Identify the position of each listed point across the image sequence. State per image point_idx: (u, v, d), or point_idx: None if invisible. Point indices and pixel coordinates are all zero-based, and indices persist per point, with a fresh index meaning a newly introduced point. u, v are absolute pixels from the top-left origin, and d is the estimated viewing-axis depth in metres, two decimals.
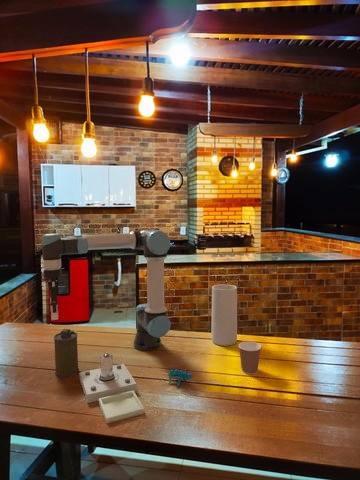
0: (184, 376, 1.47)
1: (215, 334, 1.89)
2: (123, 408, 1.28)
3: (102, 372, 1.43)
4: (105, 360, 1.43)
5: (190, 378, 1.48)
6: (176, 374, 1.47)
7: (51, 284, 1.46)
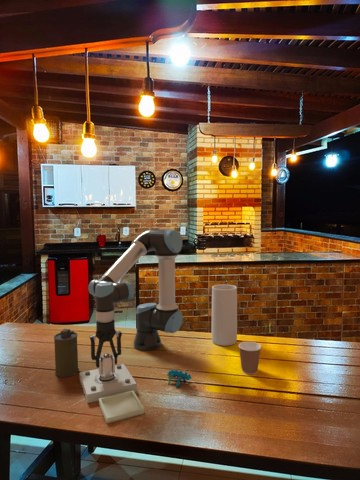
0: (183, 377, 1.47)
1: (215, 334, 1.89)
2: (123, 408, 1.28)
3: (102, 372, 1.43)
4: (105, 360, 1.43)
5: None
6: (175, 374, 1.47)
7: (90, 338, 1.42)
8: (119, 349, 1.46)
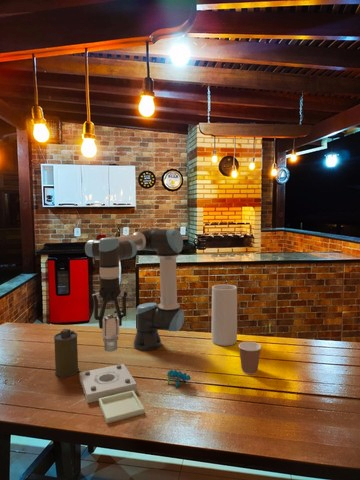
0: (183, 377, 1.46)
1: (215, 334, 1.89)
2: (123, 408, 1.28)
3: (105, 333, 1.34)
4: (109, 320, 1.33)
5: (189, 379, 1.47)
6: (175, 375, 1.47)
7: None
8: (124, 310, 1.36)
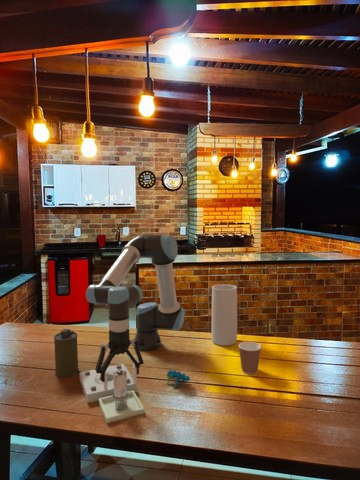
0: (182, 377, 1.46)
1: (215, 334, 1.89)
2: None
3: (115, 392, 1.27)
4: (119, 378, 1.26)
5: None
6: (174, 375, 1.46)
7: None
8: (140, 358, 1.30)
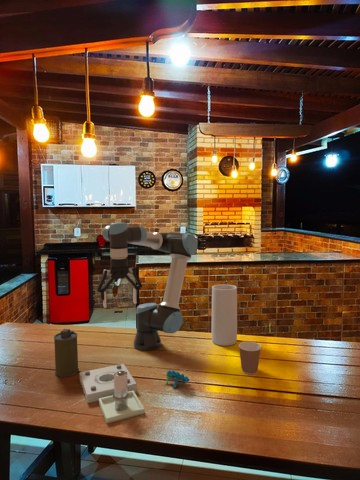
0: (181, 378, 1.45)
1: (215, 334, 1.89)
2: None
3: (116, 392, 1.27)
4: (119, 379, 1.26)
5: (187, 381, 1.45)
6: (173, 375, 1.46)
7: (103, 271, 1.48)
8: (139, 282, 1.53)
